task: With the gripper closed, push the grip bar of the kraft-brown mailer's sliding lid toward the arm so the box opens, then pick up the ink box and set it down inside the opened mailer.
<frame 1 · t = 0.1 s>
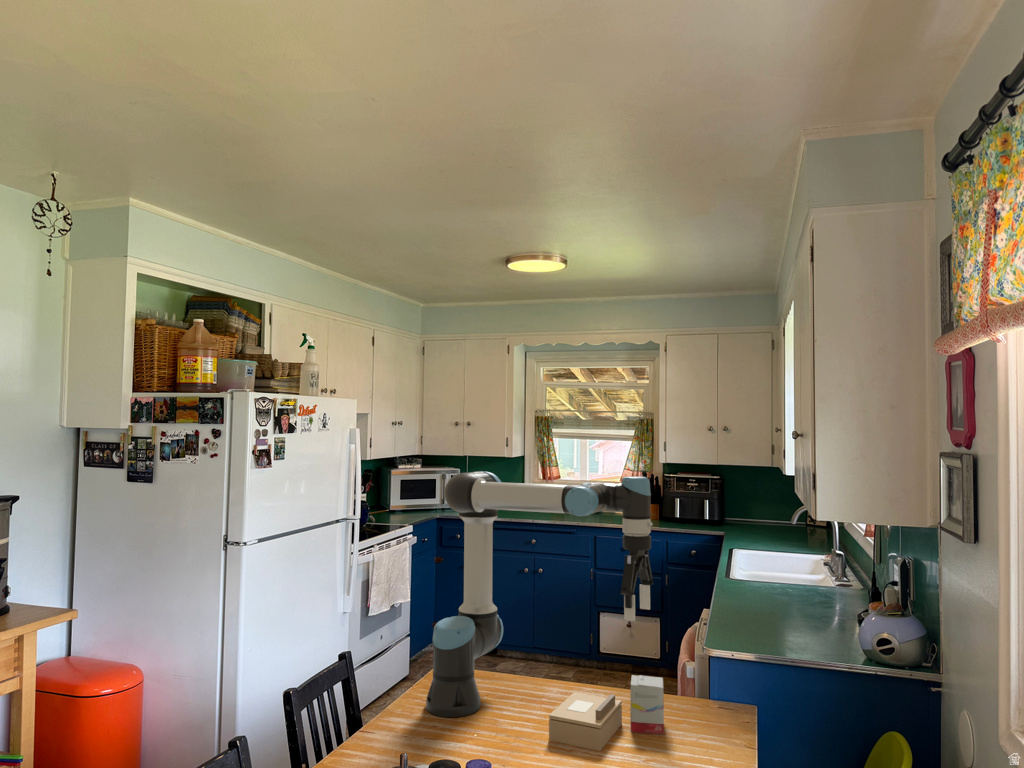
hand: (637, 614, 186), 28 cm above the table, fingers open, 13 cm apart
ink box: (647, 727, 181), on the table
lid: (586, 704, 178), point 7 cm above the table, slide at 0.0 cm
mailer: (586, 732, 178), on the table
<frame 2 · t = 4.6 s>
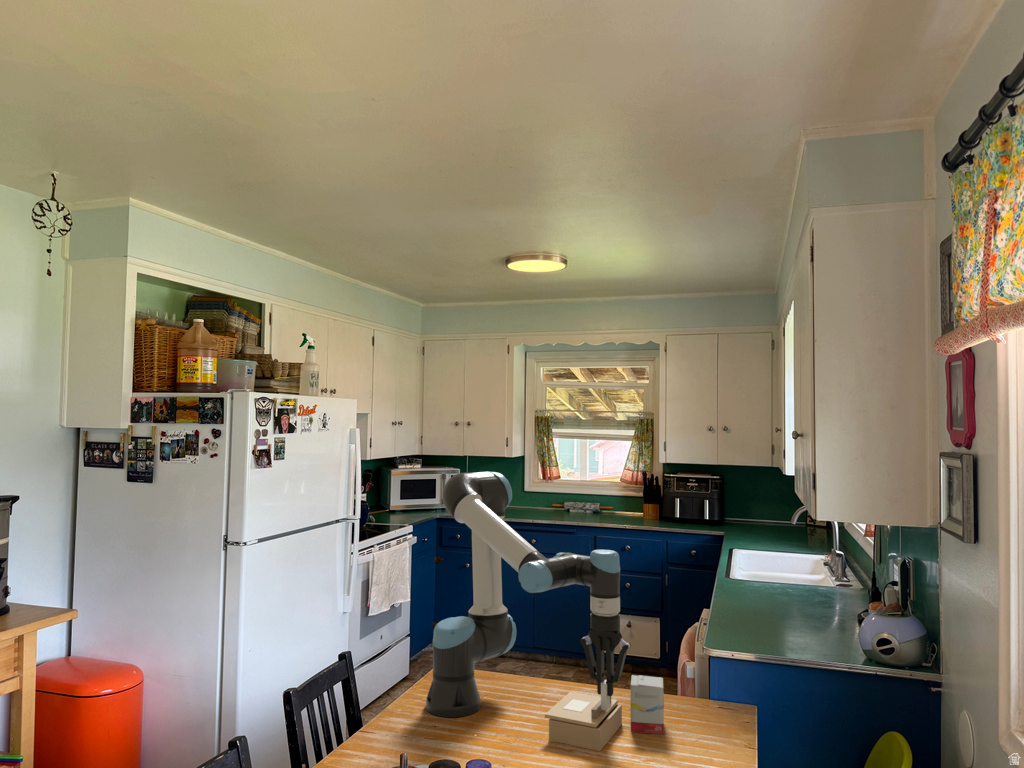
hand: (605, 708, 175), 7 cm above the table, fingers closed
lid: (582, 704, 179), point 7 cm above the table, slide at 1.1 cm, touching gripper
everything else where it was.
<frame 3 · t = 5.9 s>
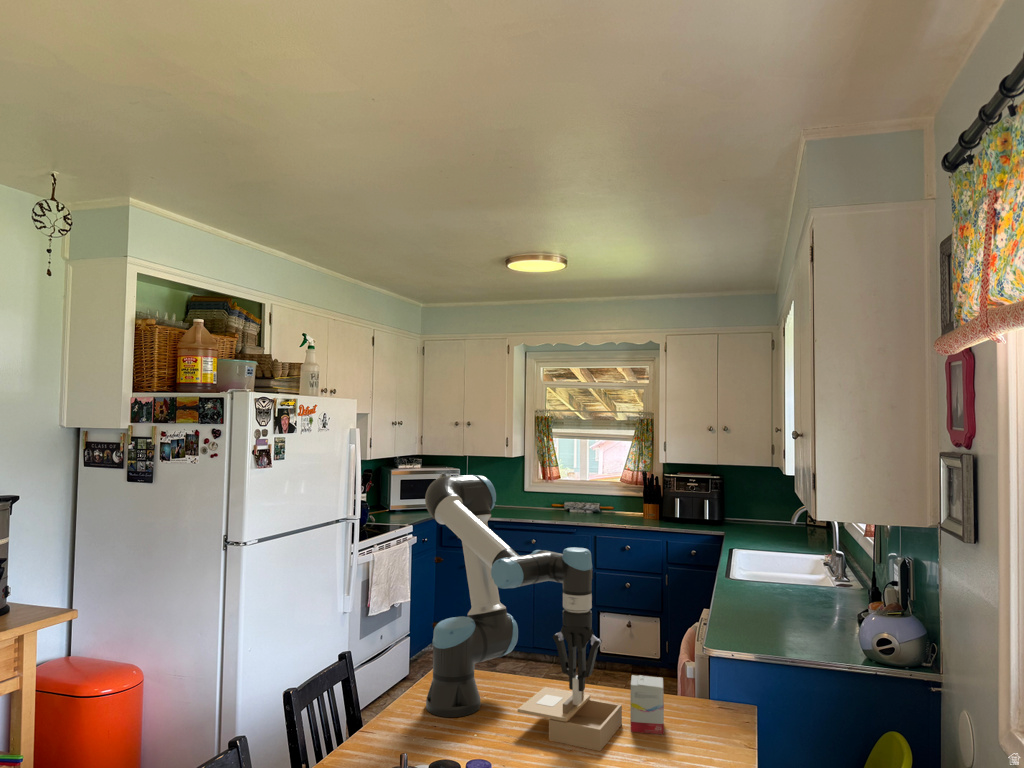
hand: (577, 702, 178), 7 cm above the table, fingers closed
lid: (554, 699, 182), point 7 cm above the table, slide at 8.7 cm, touching gripper
everything else where it was.
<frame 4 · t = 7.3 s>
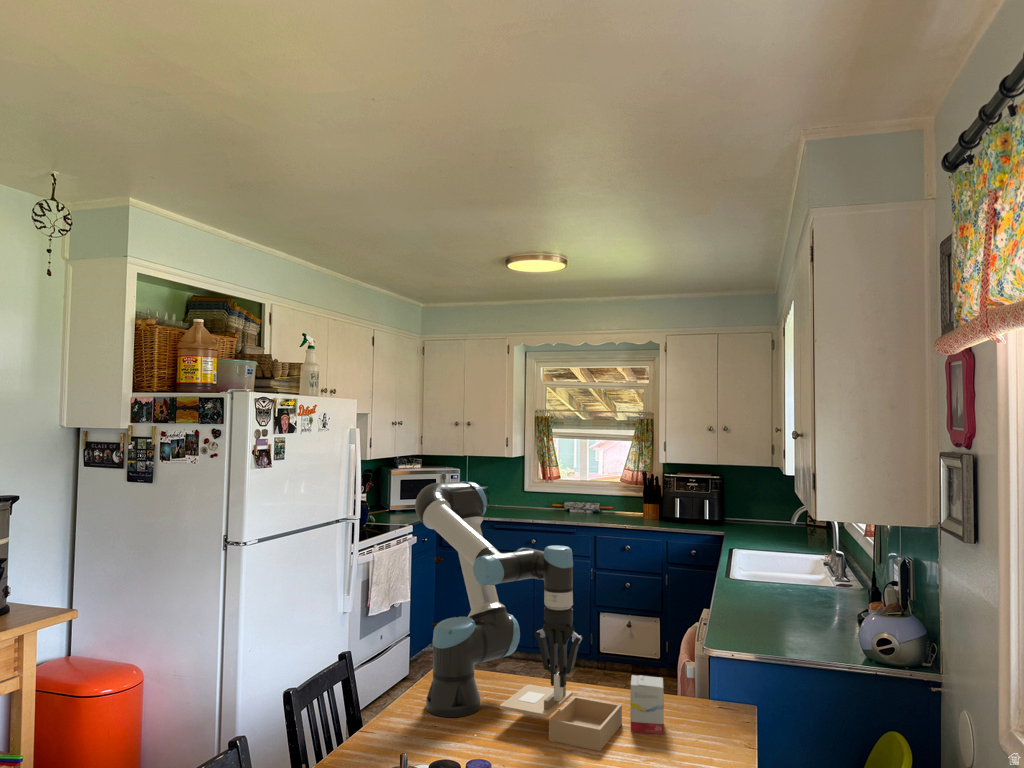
hand: (558, 699, 181), 7 cm above the table, fingers closed
lid: (537, 695, 184), point 7 cm above the table, slide at 13.9 cm, touching gripper
everything else where it was.
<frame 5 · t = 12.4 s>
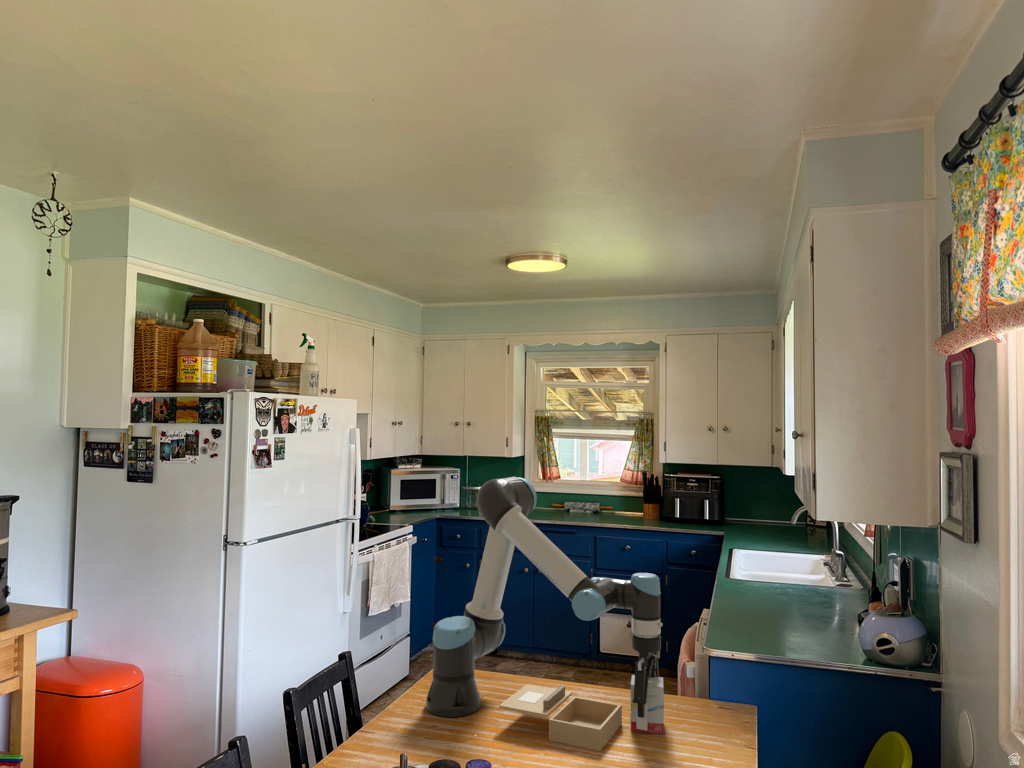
hand: (647, 721, 181), 1 cm above the table, fingers closed on ink box, 10 cm apart
ink box: (647, 727, 181), on the table, touching gripper
lid: (536, 695, 184), point 7 cm above the table, slide at 14.0 cm
when the fingers open (5 cm above the table, at t = 18.0 s): ink box drops 3 cm, resting on mailer.
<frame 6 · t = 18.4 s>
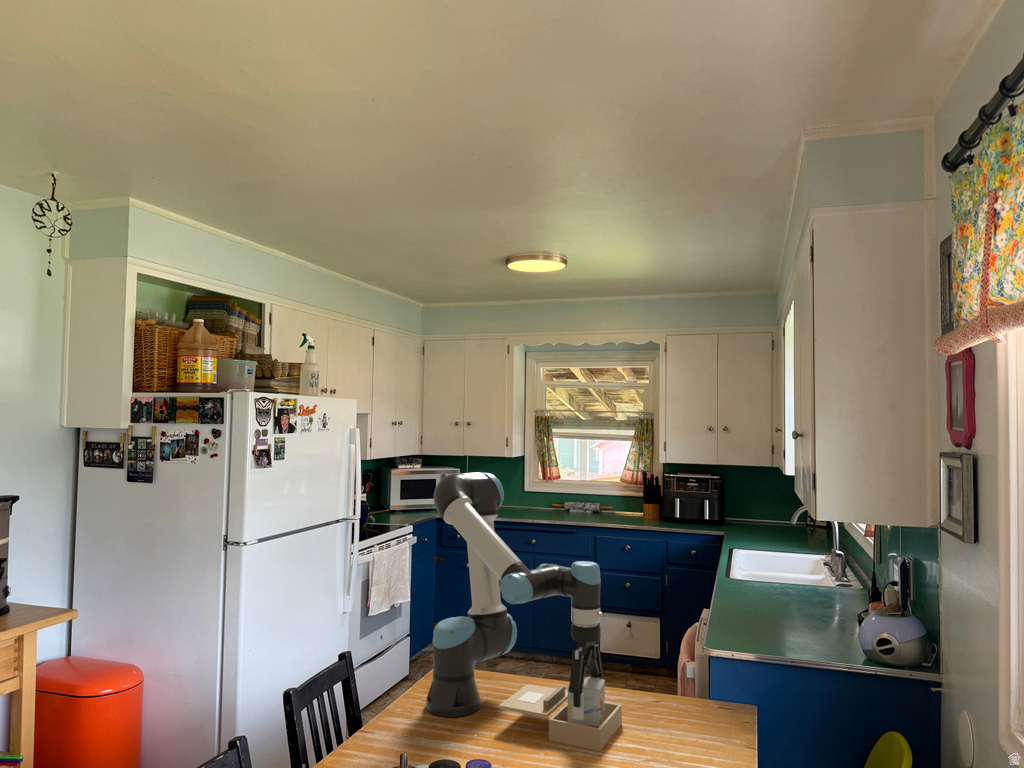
hand: (586, 711, 178), 5 cm above the table, fingers open, 11 cm apart
ink box: (586, 729, 178), resting on mailer
everything else where it was.
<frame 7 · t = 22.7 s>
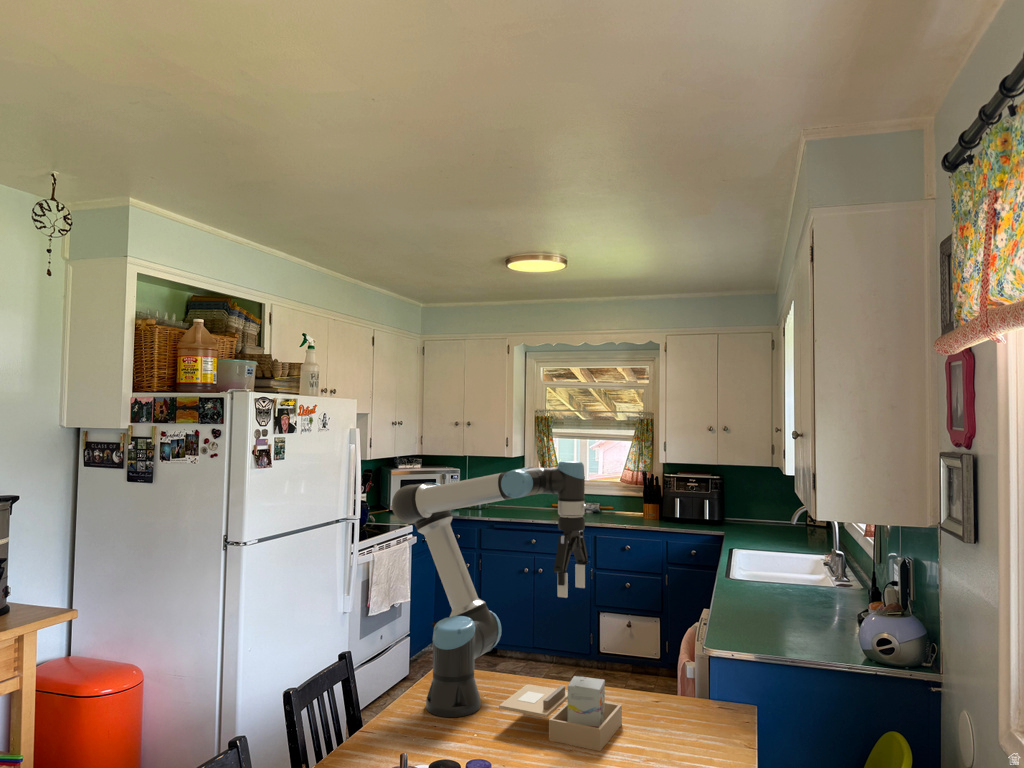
hand: (571, 592, 196), 32 cm above the table, fingers open, 13 cm apart
nothing on the table moved.
at the end: lid slide at 14.0 cm; ink box inside the target area on the mailer (0.5 cm from its centre), point 0.4 cm above the mailer's base; ink box tilted 0° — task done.
